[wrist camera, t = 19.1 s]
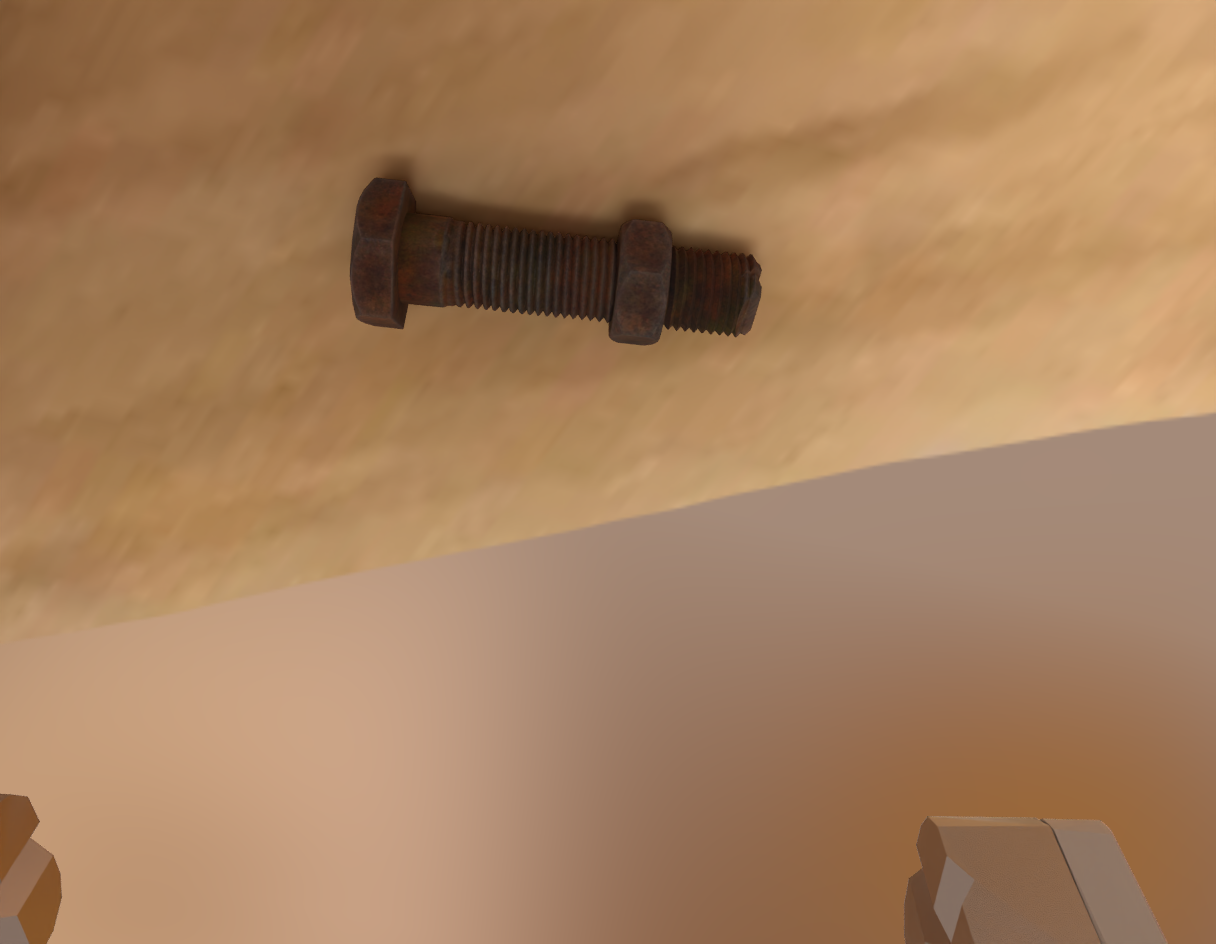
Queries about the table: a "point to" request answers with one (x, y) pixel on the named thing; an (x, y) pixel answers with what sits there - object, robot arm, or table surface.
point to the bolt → (542, 272)
